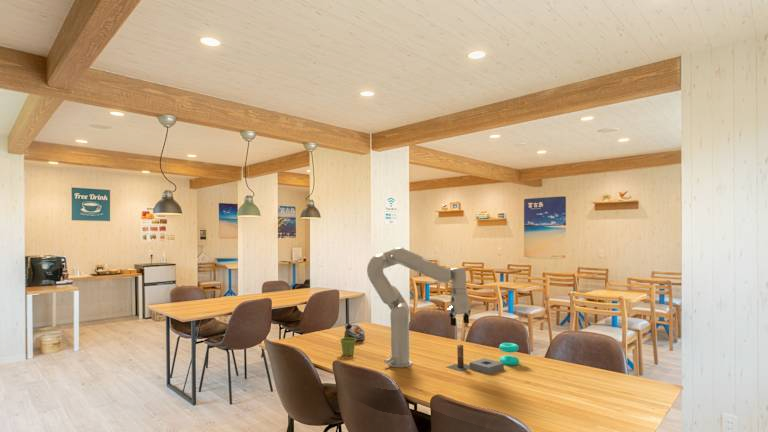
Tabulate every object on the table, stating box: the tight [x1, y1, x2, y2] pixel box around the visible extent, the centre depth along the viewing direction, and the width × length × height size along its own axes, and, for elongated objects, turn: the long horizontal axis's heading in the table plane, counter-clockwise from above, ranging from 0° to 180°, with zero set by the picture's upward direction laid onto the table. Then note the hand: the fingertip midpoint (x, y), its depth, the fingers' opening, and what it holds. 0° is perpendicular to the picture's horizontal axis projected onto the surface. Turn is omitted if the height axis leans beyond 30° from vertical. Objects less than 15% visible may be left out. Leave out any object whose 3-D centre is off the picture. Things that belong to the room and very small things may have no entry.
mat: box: [445, 363, 471, 373], centre depth 226 cm, size 12×10×1 cm
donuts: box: [498, 342, 520, 367], centre depth 233 cm, size 10×10×10 cm
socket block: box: [469, 358, 505, 375], centre depth 222 cm, size 12×12×4 cm
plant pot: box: [339, 337, 357, 357], centre depth 254 cm, size 9×9×9 cm
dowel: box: [456, 344, 465, 368], centre depth 226 cm, size 3×3×11 cm
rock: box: [343, 323, 366, 341], centre depth 290 cm, size 15×12×14 cm
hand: (459, 324), depth 231 cm, fingers open, 9 cm apart
